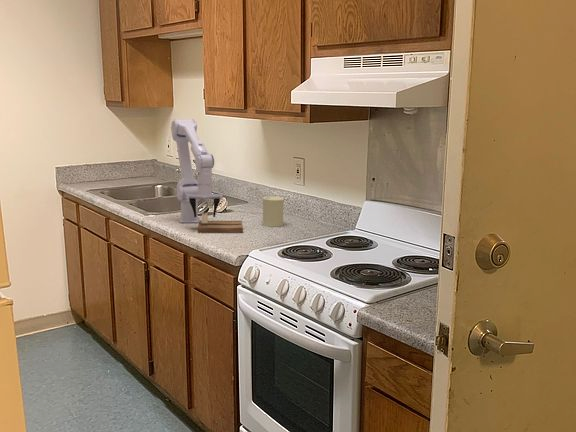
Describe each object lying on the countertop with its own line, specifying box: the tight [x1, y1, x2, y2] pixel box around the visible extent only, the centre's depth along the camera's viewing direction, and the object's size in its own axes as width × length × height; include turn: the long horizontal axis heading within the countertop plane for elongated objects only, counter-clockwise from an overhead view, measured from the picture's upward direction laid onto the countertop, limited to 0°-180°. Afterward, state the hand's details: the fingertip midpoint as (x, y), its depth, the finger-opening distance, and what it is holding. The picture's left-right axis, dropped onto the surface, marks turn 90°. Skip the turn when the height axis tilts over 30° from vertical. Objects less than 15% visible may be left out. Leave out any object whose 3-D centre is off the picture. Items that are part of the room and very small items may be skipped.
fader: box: [201, 212, 209, 225], centre depth 245 cm, size 5×2×4 cm, turn 6°
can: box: [261, 196, 285, 228], centre depth 257 cm, size 9×9×12 cm
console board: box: [197, 220, 244, 234], centre depth 247 cm, size 14×18×2 cm
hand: (204, 216), depth 245 cm, fingers open, 7 cm apart
